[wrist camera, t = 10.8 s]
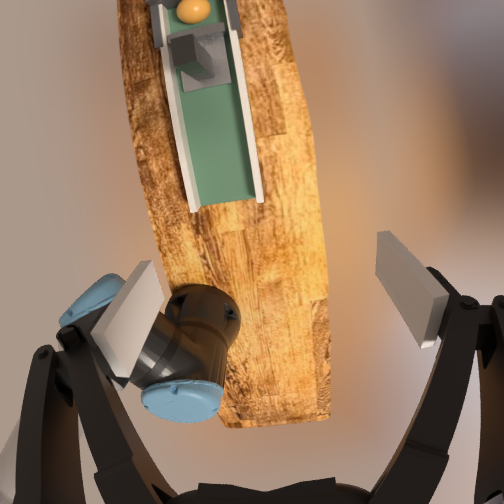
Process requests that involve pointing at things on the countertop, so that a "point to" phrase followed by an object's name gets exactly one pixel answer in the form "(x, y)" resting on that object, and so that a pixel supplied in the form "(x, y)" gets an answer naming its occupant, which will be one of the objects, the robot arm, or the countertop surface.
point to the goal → (172, 1)
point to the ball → (193, 11)
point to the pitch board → (212, 122)
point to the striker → (201, 56)
